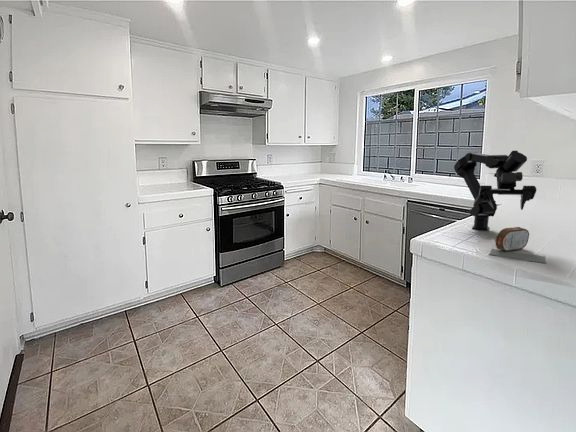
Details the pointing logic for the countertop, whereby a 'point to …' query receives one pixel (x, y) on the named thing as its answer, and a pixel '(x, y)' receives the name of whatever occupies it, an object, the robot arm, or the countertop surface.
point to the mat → (518, 255)
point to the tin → (512, 239)
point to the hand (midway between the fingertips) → (507, 208)
